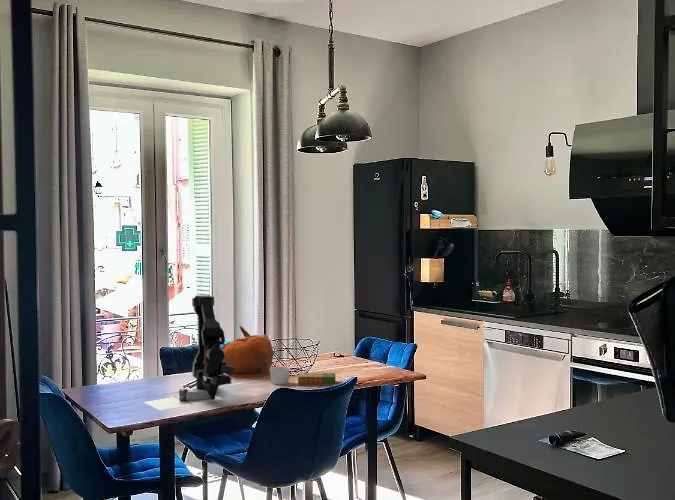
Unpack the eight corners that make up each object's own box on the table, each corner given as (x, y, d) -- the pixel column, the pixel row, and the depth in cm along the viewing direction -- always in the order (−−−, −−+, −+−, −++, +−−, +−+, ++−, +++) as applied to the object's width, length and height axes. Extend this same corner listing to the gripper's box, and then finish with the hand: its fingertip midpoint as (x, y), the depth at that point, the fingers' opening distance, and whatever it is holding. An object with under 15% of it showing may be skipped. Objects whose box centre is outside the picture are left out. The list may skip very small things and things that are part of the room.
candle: (265, 384, 292) (265, 369, 292) (275, 380, 301) (275, 366, 301) (284, 385, 289) (284, 371, 289) (293, 381, 297) (293, 367, 297)
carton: (299, 382, 297) (298, 372, 297) (335, 382, 297) (335, 372, 297) (298, 386, 289) (298, 376, 289) (335, 386, 289) (335, 376, 289)
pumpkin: (213, 373, 317) (213, 325, 316) (257, 366, 333) (257, 320, 333) (241, 380, 300) (240, 330, 299) (286, 372, 317) (285, 324, 316)
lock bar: (179, 401, 259) (179, 391, 259) (179, 399, 262) (179, 389, 262) (212, 399, 261) (212, 389, 261) (212, 397, 265) (212, 387, 264)
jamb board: (142, 404, 259) (142, 401, 259) (204, 394, 275) (204, 391, 275) (159, 413, 246) (159, 410, 246) (223, 401, 262) (223, 398, 262)
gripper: (243, 359, 256) (243, 400, 256) (219, 352, 271) (219, 391, 271) (216, 363, 249) (217, 405, 250) (193, 356, 264) (194, 395, 264)
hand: (212, 399), depth 259 cm, fingers closed
